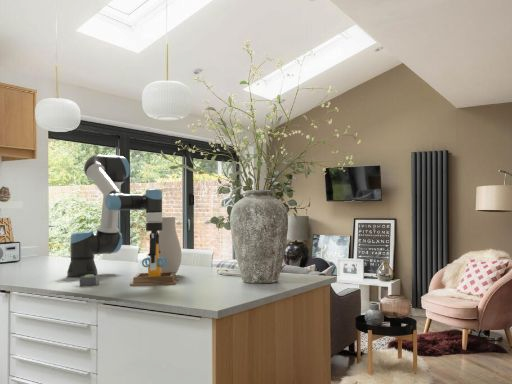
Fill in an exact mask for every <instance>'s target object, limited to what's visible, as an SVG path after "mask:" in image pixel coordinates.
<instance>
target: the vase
mask: <svg viewBox="0 0 512 384" xmlns="http://www.w3.org/2000/svg"><path fill="white" fill-rule="evenodd" d="M161 223H162V230H161V231H158V233H159V234H158V235H159V250H160V251H161V252H160V253H159V258H161V257H165V258H166V259H167V264H166V265H165V266H163V267H161V273H163V272H175V275H176V274H177V273H178V271H179V268H180V266H181V263H182V248H181V244H180V240H179V238H178V237H179V236H178V234H177V229H176V216H162V221H161ZM160 263H161V264H163V261H162V260H160ZM164 264H165V259H164Z"/></svg>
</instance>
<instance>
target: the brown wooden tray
mask: <svg viewBox="0 0 512 384" xmlns="http://www.w3.org/2000/svg"><path fill="white" fill-rule="evenodd" d="M178 281H179V277H178V276H176V274H175V272H163V273H161V276H157V277H149V276H148V272H140V273H139V272H138V273H136V274H135V275H134V276H133V278H132V281H131V282H130V283H129V286H130V287H135V286H137V287H141V286H166V285H167V286H168V285H169V286H170V285H173V286H175V285H176V284H177V282H178Z"/></svg>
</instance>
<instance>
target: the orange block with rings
mask: <svg viewBox="0 0 512 384" xmlns="http://www.w3.org/2000/svg"><path fill="white" fill-rule="evenodd" d="M164 259H165V264H164ZM160 260H162V261H163V264H161V263H160ZM144 263H145V264H144ZM166 264H167V259H166V258H165V257H161V258H159V244H156V270H150V256H148V257H146V258H143V259H142V261H141V265H142V266H143V267H144V268H147V273H148V276H149V277H157V276H161V267H163V266H165V265H166Z"/></svg>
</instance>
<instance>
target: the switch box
mask: <svg viewBox="0 0 512 384" xmlns="http://www.w3.org/2000/svg"><path fill="white" fill-rule="evenodd" d="M98 285H100V275H99V274H97V275H94V277H85V276H82V277H79V288H80V287H81V288H82V287H97V286H98Z"/></svg>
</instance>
